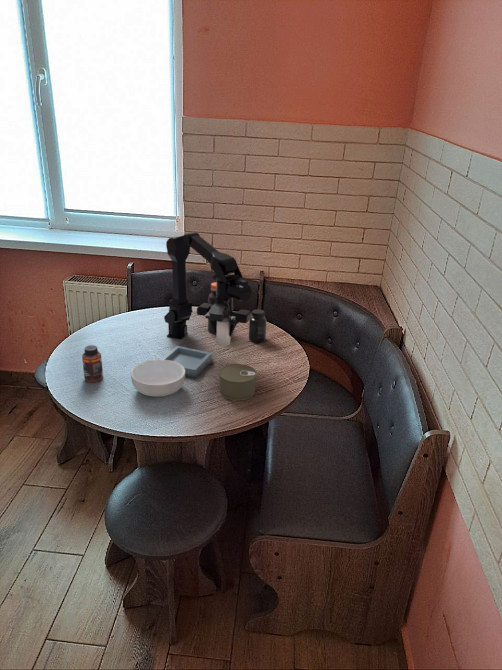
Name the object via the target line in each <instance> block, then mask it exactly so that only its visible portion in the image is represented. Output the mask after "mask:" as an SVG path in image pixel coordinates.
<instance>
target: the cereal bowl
mask: <svg viewBox="0 0 502 670" xmlns="http://www.w3.org/2000/svg"><path fill="white" fill-rule="evenodd" d="M161 359H162V358H161ZM161 359H150V360H146V361H142V362H141V363H138V364H137V365H135V366H134V367H133V368H132V369H131V370H130V378H131V383H132V386H133V387H134V389H135V390H136V391H138V392H139V393H140V394H143V395H145V396H149V397H155V398H156V397H165V396H166V397H167V396H170V395H172V394H174V393H177V392H178V391H180V389H181V388H182V387H183V385H184V382H185V380H186V376H185V369H184V367H183V366H182V365H180V364H179V363H177V362H174V361H170V360H161Z"/></svg>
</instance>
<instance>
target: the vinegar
mask: <svg viewBox="0 0 502 670" xmlns="http://www.w3.org/2000/svg"><path fill="white" fill-rule="evenodd" d="M216 283H217V281H215V282H211V283H210V291H211V293H210V294H208V298H207V299H208V300H207V301H208V302H207V303H208V304H214V300H215V297H216ZM207 330H208V332H209V333H210V334H215V331H214V328H213V326H212V323H211V321H210V320H209V319H207ZM215 335H216V334H215Z"/></svg>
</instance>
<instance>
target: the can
mask: <svg viewBox="0 0 502 670" xmlns="http://www.w3.org/2000/svg"><path fill="white" fill-rule="evenodd" d="M218 375H219V379H218V380H219V389H218V392H219V394H220V395H221V396H222V398H225V399H227V400H231V401H238V402H239V401H246V400H249V399H251V398H252V397H254V395H255V393H256V383H257V381H256V380H257V370H256V369H255V368H254V367H252V366H250V365H248V364H245V363H243V364H242V363H231V364H227V365H224V366H222V367H221V368H220V369H219V370H218Z"/></svg>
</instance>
